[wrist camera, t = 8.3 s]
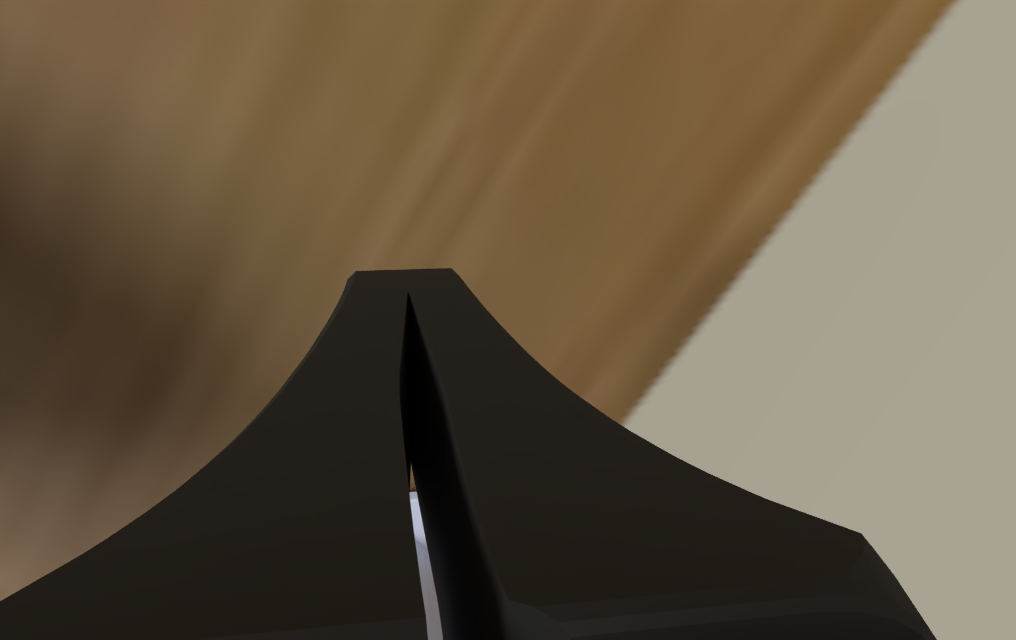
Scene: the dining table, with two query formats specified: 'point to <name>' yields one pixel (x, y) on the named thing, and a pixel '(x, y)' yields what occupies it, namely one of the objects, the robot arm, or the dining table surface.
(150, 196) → the dining table surface
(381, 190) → the dining table surface
